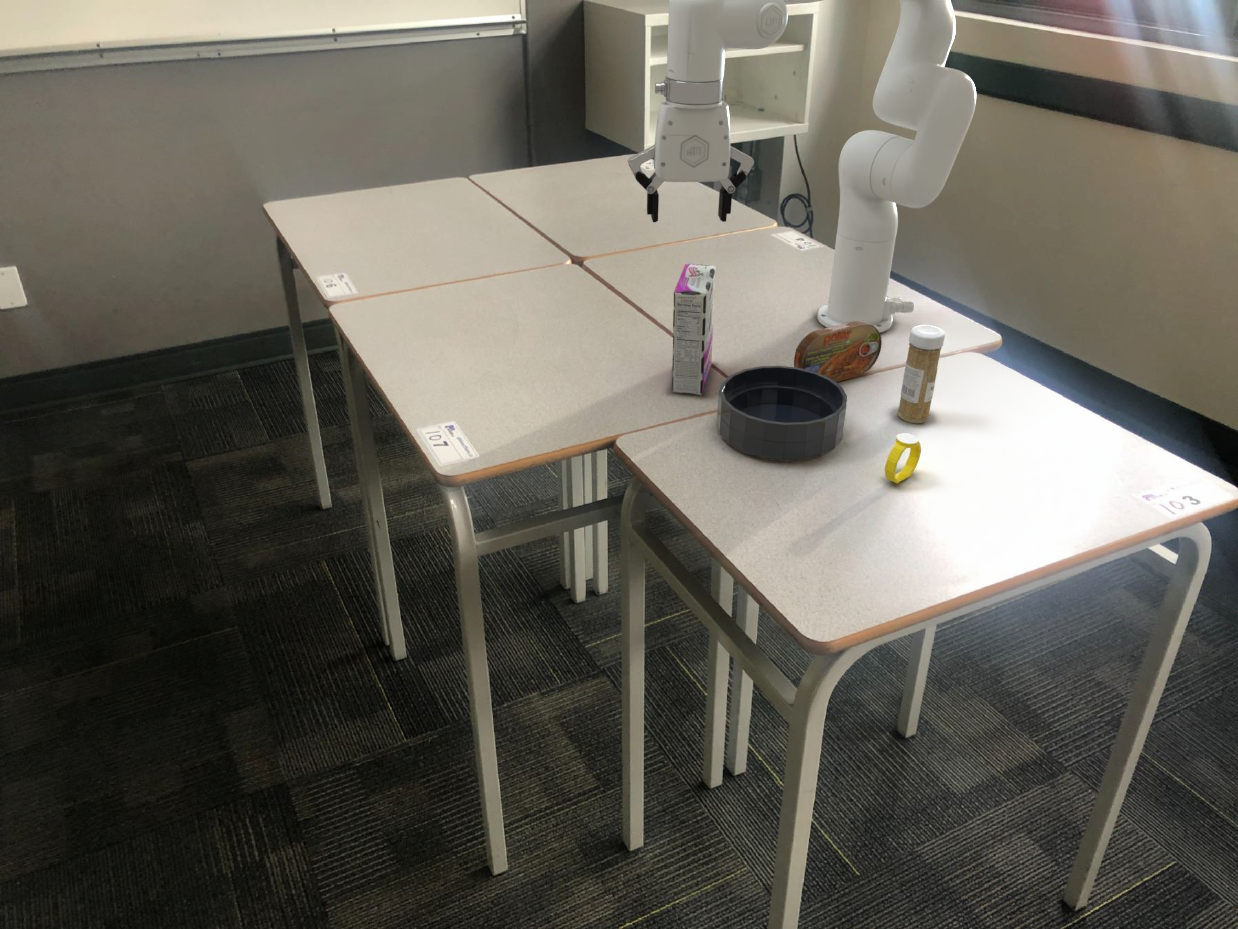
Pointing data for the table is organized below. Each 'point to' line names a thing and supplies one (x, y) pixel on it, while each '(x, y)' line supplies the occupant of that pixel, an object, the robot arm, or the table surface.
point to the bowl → (781, 412)
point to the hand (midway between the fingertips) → (688, 218)
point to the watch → (895, 454)
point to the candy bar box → (693, 329)
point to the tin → (840, 350)
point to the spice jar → (920, 373)
